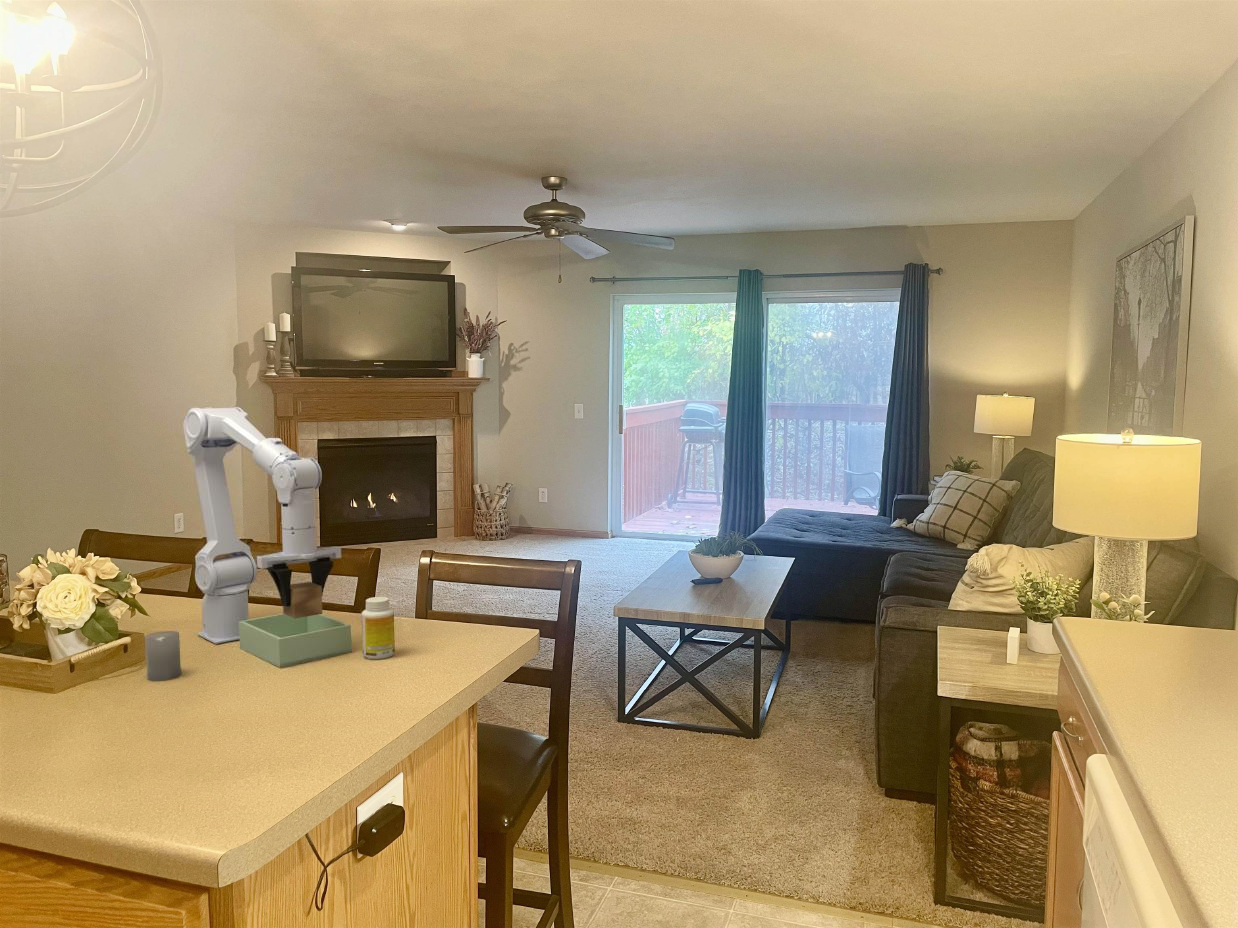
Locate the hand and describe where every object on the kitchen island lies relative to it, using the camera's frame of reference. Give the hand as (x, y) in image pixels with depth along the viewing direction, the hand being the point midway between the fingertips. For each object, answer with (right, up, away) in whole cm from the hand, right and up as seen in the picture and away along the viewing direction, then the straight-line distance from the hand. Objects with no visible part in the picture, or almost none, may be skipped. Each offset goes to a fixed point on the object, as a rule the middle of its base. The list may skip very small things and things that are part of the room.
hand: (301, 602), depth 159 cm
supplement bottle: (+14, -10, 0) cm, 17 cm away
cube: (0, -2, 0) cm, 2 cm away
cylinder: (-19, -11, -11) cm, 24 cm away
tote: (-3, -9, +4) cm, 10 cm away
